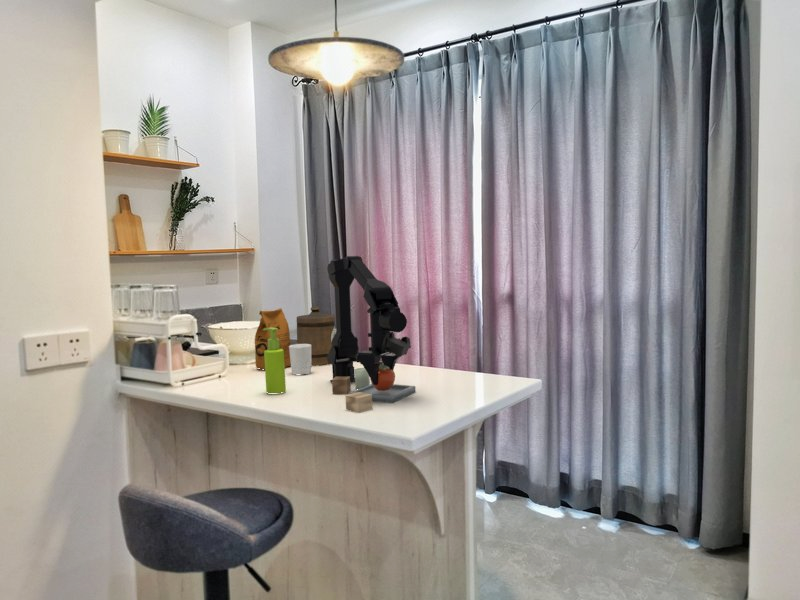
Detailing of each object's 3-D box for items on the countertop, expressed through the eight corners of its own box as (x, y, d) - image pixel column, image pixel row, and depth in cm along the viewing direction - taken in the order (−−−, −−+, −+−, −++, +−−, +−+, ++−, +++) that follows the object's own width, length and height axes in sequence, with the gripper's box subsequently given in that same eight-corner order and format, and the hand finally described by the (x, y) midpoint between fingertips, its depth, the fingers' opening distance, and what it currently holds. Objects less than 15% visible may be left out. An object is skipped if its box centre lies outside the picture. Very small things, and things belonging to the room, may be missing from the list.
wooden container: (343, 362, 243) (341, 305, 241) (309, 367, 235) (306, 308, 233) (325, 357, 255) (322, 303, 254) (291, 362, 247) (288, 306, 245)
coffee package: (251, 369, 235) (248, 310, 233) (277, 364, 244) (274, 307, 243) (269, 372, 228) (266, 311, 227) (295, 366, 238) (292, 308, 237)
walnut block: (332, 394, 189) (331, 379, 189) (336, 391, 194) (335, 376, 193) (347, 394, 189) (346, 379, 188) (350, 391, 193) (350, 376, 193)
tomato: (391, 385, 190) (391, 359, 189) (398, 390, 183) (397, 363, 182) (367, 387, 188) (366, 361, 187) (373, 393, 181) (372, 365, 180)
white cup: (317, 372, 225) (315, 344, 224) (302, 376, 218) (301, 347, 218) (300, 370, 229) (299, 343, 228) (285, 374, 223) (284, 346, 222)
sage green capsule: (352, 389, 195) (351, 370, 194) (360, 386, 199) (359, 367, 198) (364, 390, 193) (364, 371, 192) (372, 387, 197) (371, 368, 196)
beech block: (346, 410, 170) (345, 395, 170) (360, 406, 174) (359, 392, 174) (358, 413, 167) (357, 398, 166) (372, 409, 170) (371, 394, 170)
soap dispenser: (277, 389, 199) (273, 326, 198) (289, 392, 195) (286, 327, 193) (260, 392, 195) (257, 328, 194) (273, 395, 190) (269, 329, 189)
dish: (350, 398, 183) (349, 392, 182) (375, 388, 195) (375, 382, 195) (392, 402, 176) (391, 396, 176) (415, 392, 188) (415, 386, 188)
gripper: (388, 334, 172) (390, 391, 173) (419, 325, 188) (421, 377, 189) (353, 333, 177) (356, 388, 178) (387, 324, 193) (389, 375, 195)
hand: (382, 382), depth 185 cm, fingers open, 7 cm apart
